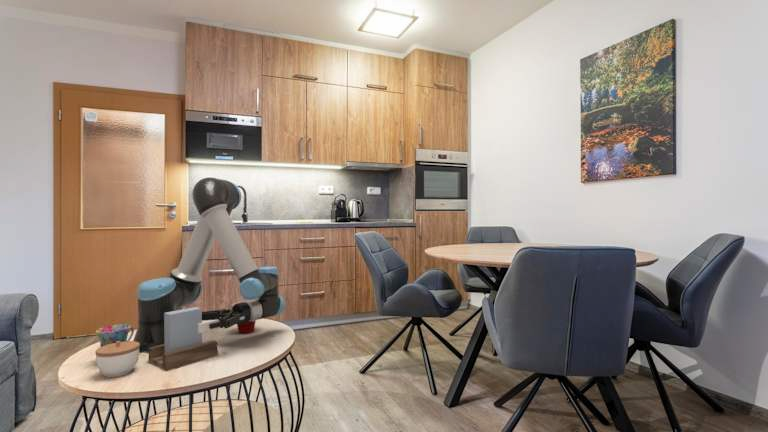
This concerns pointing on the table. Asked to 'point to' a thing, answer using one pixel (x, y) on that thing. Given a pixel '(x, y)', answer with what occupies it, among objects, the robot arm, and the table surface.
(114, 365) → the lidded jar
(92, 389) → the table surface
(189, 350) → the walnut rack
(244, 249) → the robot arm
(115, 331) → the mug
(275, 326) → the table surface
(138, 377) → the table surface
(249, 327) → the plastic cup
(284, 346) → the table surface
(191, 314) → the slate tile
